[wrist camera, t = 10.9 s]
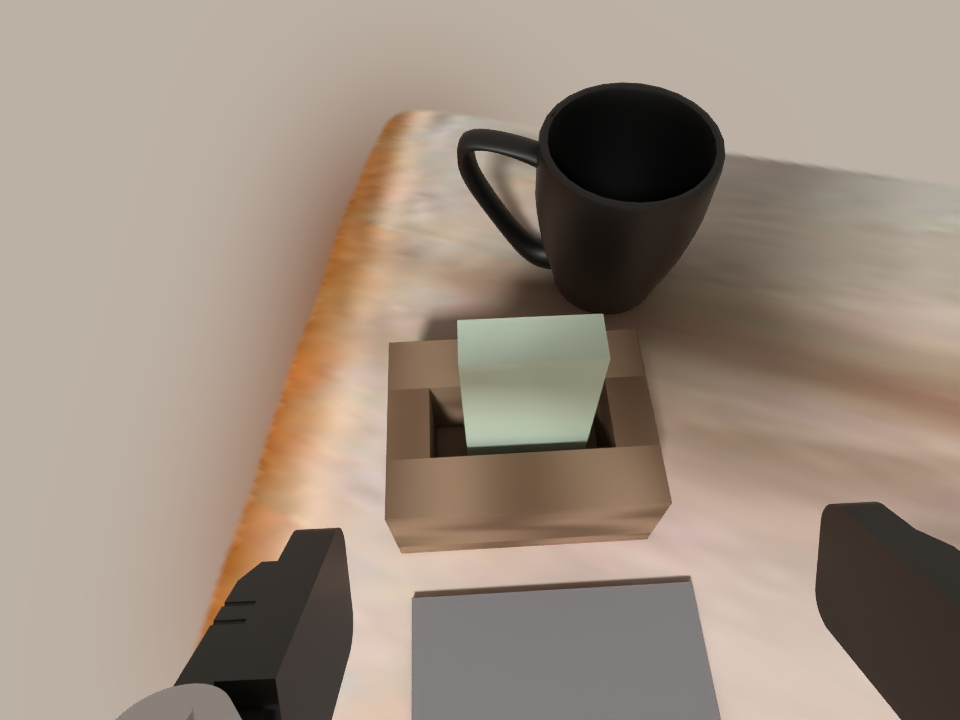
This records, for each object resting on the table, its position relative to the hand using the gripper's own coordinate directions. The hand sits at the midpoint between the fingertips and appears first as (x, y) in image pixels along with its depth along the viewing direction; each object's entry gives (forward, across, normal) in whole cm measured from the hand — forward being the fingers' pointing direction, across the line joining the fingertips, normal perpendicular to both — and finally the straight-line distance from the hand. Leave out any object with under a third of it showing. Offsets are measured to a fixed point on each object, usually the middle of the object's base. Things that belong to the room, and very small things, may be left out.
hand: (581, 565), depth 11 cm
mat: (+12, -1, +14) cm, 18 cm away
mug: (+28, -4, -2) cm, 28 cm away
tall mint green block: (+19, 0, +6) cm, 20 cm away
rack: (+20, 0, +6) cm, 21 cm away
